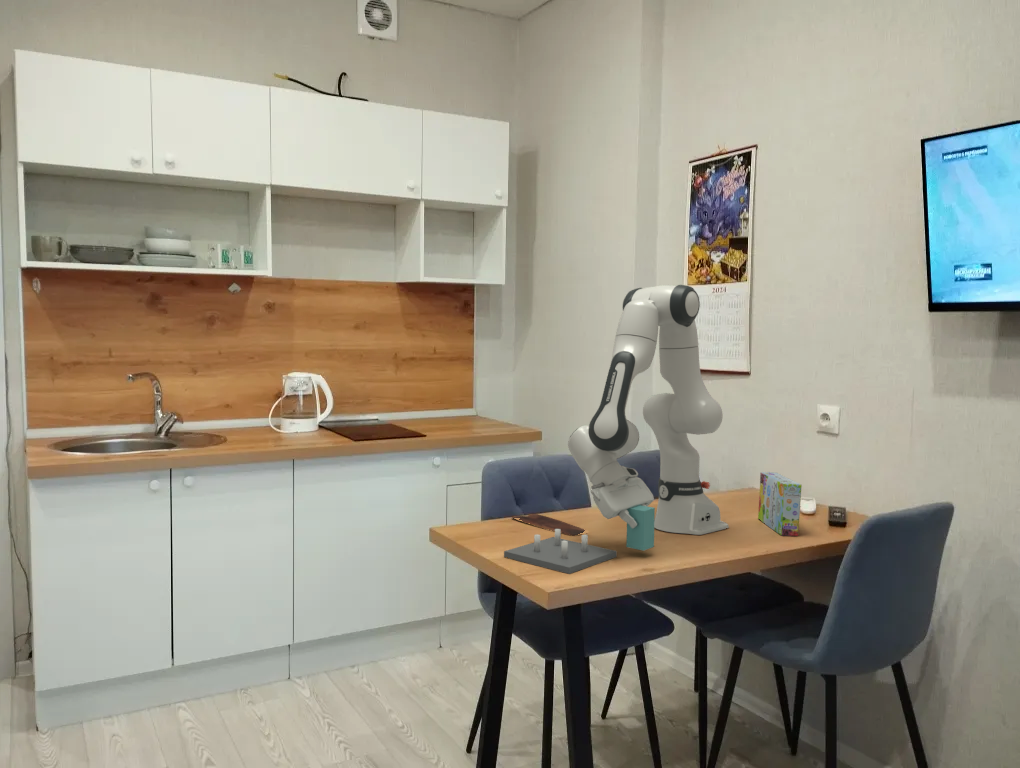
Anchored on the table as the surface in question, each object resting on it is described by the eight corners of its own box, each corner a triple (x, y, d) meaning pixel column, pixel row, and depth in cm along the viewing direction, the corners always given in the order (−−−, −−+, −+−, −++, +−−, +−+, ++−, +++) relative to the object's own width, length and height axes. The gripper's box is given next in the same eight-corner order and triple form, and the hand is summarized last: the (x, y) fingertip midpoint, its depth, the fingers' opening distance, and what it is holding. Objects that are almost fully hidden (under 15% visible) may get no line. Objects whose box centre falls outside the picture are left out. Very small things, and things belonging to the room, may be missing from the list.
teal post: (636, 543, 203) (637, 504, 202) (653, 546, 200) (654, 507, 199) (626, 547, 199) (627, 508, 199) (643, 550, 196) (644, 511, 195)
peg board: (552, 542, 210) (553, 522, 210) (616, 556, 197) (617, 535, 197) (503, 557, 195) (504, 535, 194) (569, 573, 182) (570, 550, 182)
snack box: (800, 536, 222) (802, 484, 221) (780, 536, 222) (782, 483, 221) (774, 519, 243) (776, 471, 242) (756, 519, 243) (758, 471, 242)
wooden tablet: (596, 529, 222) (570, 529, 216) (595, 537, 222) (569, 537, 216) (534, 512, 243) (509, 512, 237) (533, 519, 243) (508, 519, 236)
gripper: (595, 479, 195) (628, 524, 189) (638, 468, 210) (670, 510, 205) (580, 494, 198) (612, 539, 192) (624, 482, 214) (655, 524, 208)
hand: (642, 524), depth 199 cm, fingers closed on teal post, 5 cm apart
